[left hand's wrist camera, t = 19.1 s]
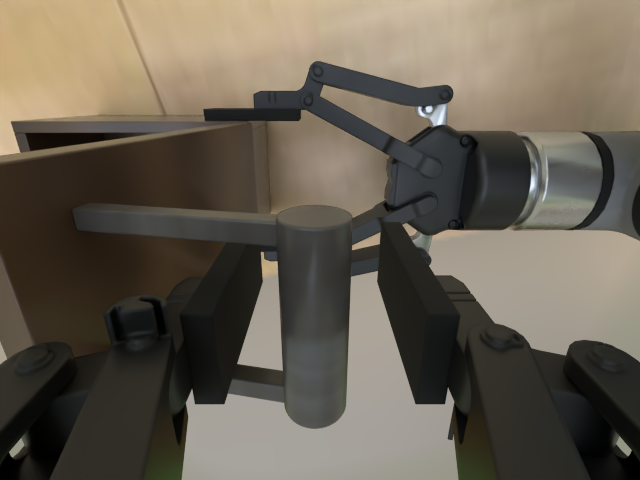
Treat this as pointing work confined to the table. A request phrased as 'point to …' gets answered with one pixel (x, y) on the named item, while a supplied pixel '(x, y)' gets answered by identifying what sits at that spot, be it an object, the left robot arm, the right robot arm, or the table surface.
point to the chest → (123, 126)
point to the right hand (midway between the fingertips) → (217, 182)
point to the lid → (170, 251)
